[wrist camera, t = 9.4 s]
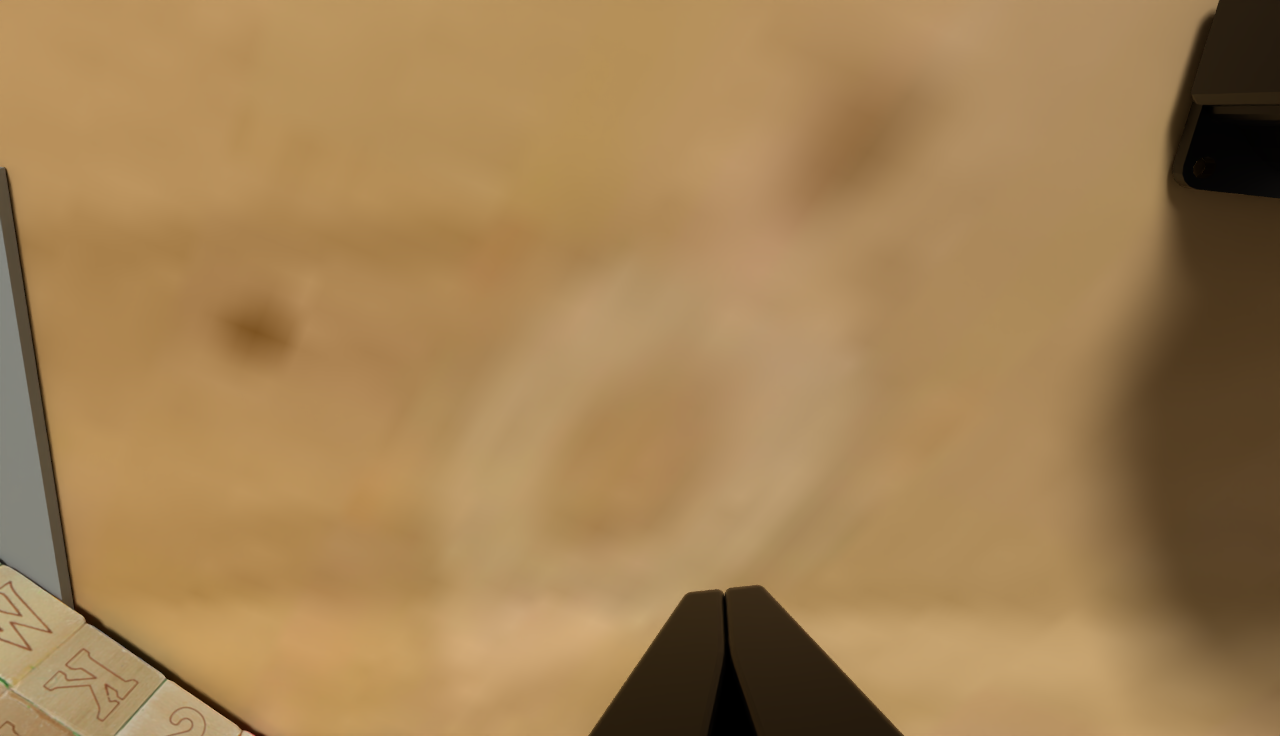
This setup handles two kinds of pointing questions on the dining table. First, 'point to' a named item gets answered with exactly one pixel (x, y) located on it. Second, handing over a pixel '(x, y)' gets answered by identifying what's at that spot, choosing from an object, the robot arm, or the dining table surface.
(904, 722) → the dining table surface
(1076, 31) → the dining table surface
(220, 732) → the stack of blocks
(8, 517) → the mat
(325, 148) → the dining table surface
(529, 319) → the dining table surface
